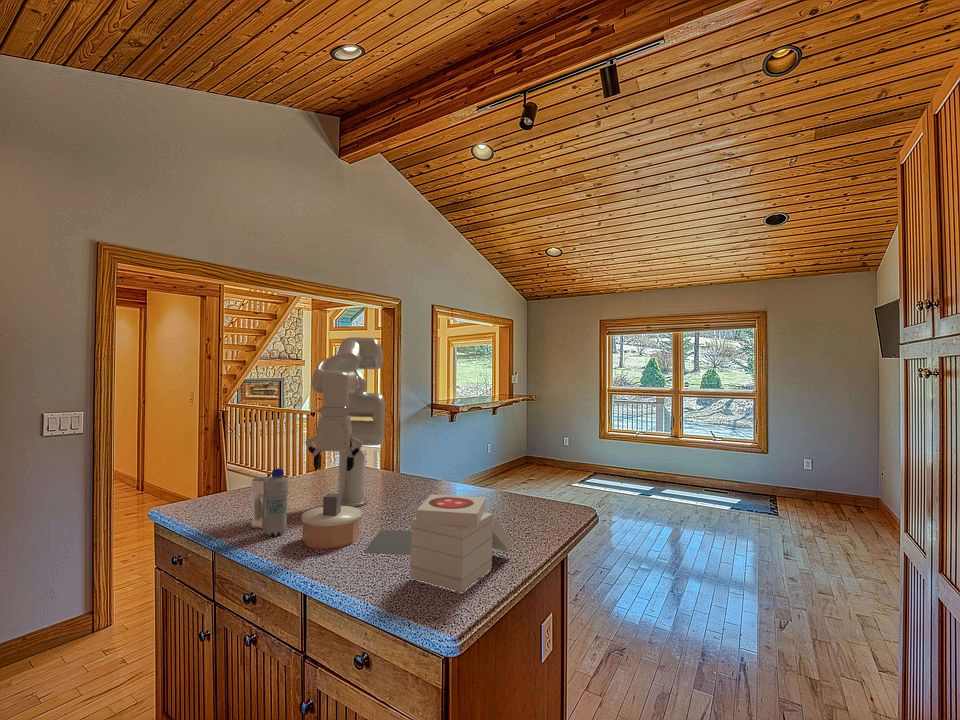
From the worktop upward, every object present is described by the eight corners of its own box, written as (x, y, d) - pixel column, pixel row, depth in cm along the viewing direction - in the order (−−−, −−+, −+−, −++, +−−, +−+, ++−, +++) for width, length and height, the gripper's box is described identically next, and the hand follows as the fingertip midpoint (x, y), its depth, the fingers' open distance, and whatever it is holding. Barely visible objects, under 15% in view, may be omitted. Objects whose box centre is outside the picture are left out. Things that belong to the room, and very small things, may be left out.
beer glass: (264, 529, 149) (265, 482, 149) (244, 527, 150) (246, 480, 151) (277, 523, 156) (279, 477, 156) (259, 521, 157) (260, 476, 157)
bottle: (291, 531, 148) (294, 467, 148) (276, 538, 141) (278, 471, 142) (274, 529, 150) (276, 465, 150) (258, 535, 144) (260, 469, 144)
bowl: (316, 531, 149) (317, 509, 149) (363, 533, 148) (363, 510, 148) (295, 549, 134) (296, 524, 134) (347, 551, 133) (348, 526, 133)
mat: (380, 531, 150) (380, 529, 150) (440, 534, 149) (440, 532, 149) (363, 554, 131) (363, 552, 131) (431, 557, 130) (431, 555, 130)
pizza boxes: (519, 556, 132) (520, 491, 133) (464, 600, 106) (466, 519, 106) (460, 543, 141) (462, 482, 142) (396, 580, 115) (399, 506, 116)
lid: (315, 507, 150) (315, 487, 150) (367, 509, 149) (368, 489, 149) (291, 525, 133) (292, 501, 133) (350, 527, 132) (351, 504, 132)
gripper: (301, 412, 139) (300, 471, 138) (359, 414, 138) (358, 473, 138) (312, 410, 146) (310, 465, 146) (367, 412, 145) (365, 467, 145)
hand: (333, 469), depth 142 cm, fingers open, 9 cm apart
